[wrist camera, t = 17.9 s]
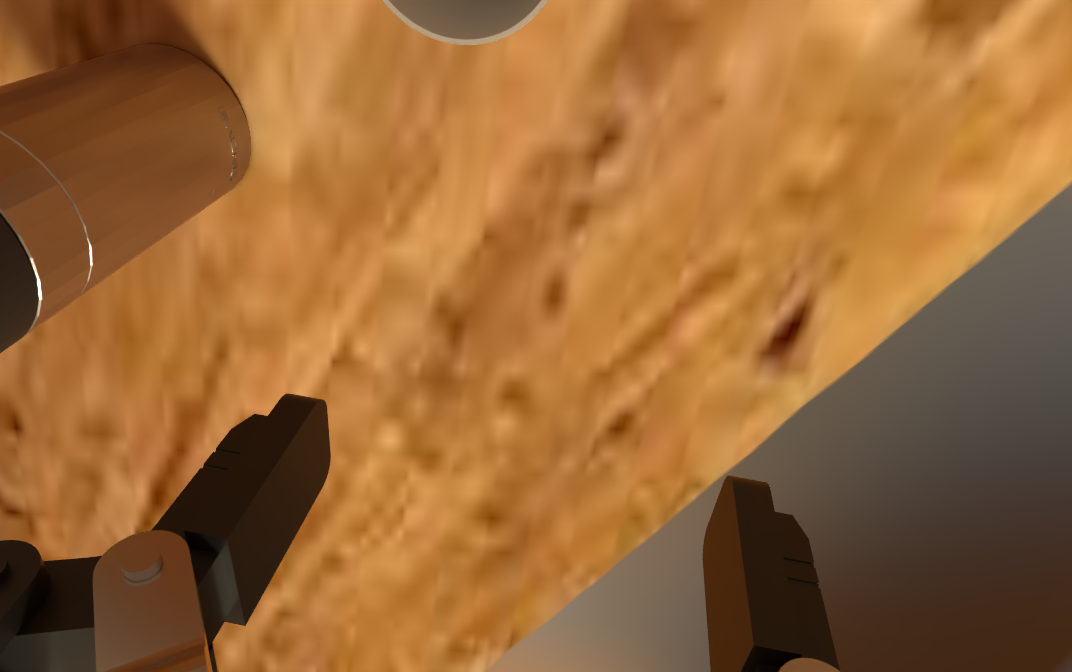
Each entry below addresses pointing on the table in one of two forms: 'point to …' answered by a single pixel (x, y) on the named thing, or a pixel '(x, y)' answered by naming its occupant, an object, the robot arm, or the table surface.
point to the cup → (466, 18)
